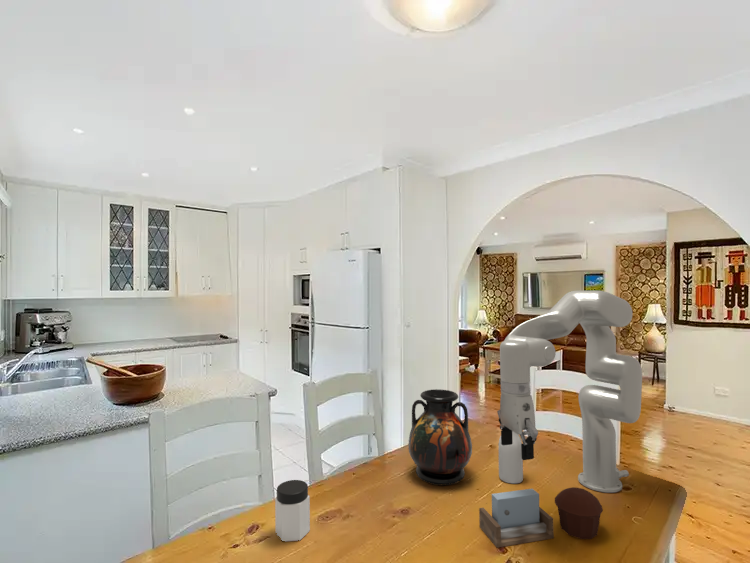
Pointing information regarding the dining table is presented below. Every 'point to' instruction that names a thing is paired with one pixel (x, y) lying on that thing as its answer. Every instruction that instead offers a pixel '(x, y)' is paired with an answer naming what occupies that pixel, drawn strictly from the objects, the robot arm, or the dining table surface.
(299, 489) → the jar
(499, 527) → the wooden rack
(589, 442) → the robot arm
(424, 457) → the amphora vase
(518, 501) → the door panel
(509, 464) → the milk bottle
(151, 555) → the dining table surface
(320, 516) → the dining table surface
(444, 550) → the dining table surface
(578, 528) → the muffin
